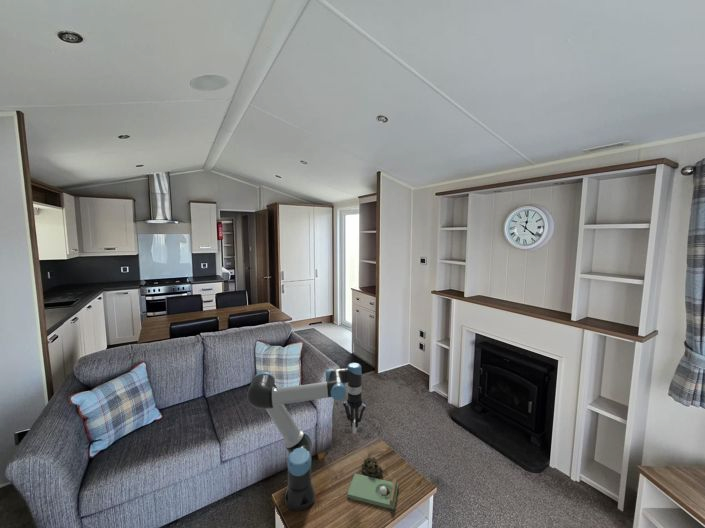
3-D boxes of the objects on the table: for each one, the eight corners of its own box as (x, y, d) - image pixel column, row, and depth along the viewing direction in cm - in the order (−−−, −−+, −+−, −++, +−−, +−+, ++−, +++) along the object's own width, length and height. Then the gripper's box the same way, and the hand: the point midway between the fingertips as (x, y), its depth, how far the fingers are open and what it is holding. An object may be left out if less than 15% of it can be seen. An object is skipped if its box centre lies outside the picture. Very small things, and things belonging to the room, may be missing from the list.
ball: (377, 495, 160) (379, 489, 160) (379, 489, 164) (381, 483, 163) (385, 499, 159) (387, 492, 159) (386, 492, 163) (388, 486, 162)
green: (347, 497, 160) (347, 489, 159) (354, 476, 173) (354, 469, 173) (394, 509, 153) (394, 501, 153) (398, 486, 166) (398, 479, 166)
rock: (374, 486, 167) (387, 472, 171) (362, 469, 170) (376, 455, 174) (368, 481, 179) (381, 468, 183) (357, 465, 181) (370, 452, 185)
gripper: (341, 393, 169) (341, 434, 172) (364, 397, 165) (364, 438, 168) (345, 386, 176) (345, 425, 179) (367, 390, 172) (367, 430, 175)
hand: (354, 432), depth 173 cm, fingers closed
